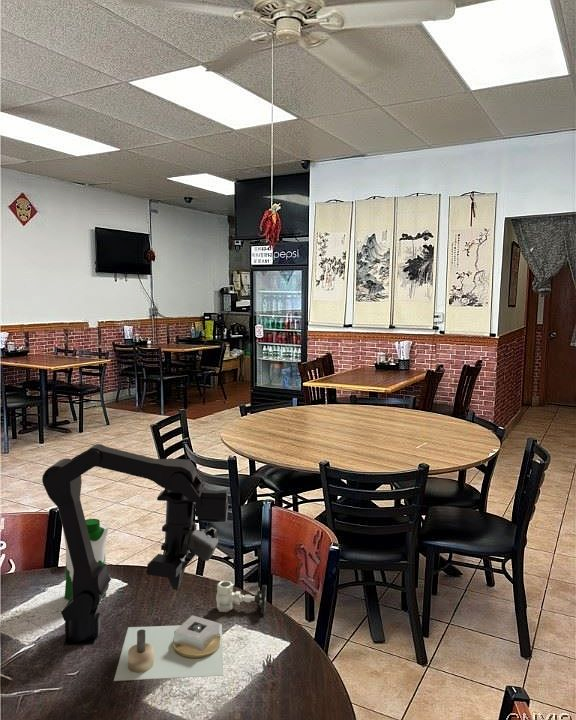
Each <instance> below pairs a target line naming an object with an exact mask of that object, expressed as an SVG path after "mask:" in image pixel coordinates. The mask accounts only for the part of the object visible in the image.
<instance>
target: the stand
mask: <svg viewBox="0 0 576 720" xmlns="http://www.w3.org/2000/svg"><path fill="white" fill-rule="evenodd" d="M153 663H154V648H153V646H152V645H150V644H147V643H145V630H138V631H137V644H136V645H134V646H132V647H131V648H130V649H129V651H128V669H129V670H130V671H132V672H135V673H141V672H145V671H148V670H149V669H151V668H152V666H153Z"/></svg>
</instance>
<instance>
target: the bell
mask: <svg viewBox="0 0 576 720" xmlns="http://www.w3.org/2000/svg"><path fill="white" fill-rule="evenodd" d="M193 631H194V632H198V633H200V632H201V626H200V625H195V626H193ZM219 647H220V634H218V635H217V636H216V637H215V639H214V640H213V641H212V642H211V643H210V644H209V645H208V646H207V647H206V648H205V649H204V650H203V651H200V650H197V649H194V648H190V647H187V646H184V645H181V644H178V643H174V638H173V649H174V651H175V652H176V653H177V654H178V655H179V656H181V657H184V658H188V659H201V658H205V657H208V656H210V655H212V654H214V653H215V652H216V651H217V650H218V649H219Z"/></svg>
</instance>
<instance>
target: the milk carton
mask: <svg viewBox="0 0 576 720" xmlns="http://www.w3.org/2000/svg"><path fill="white" fill-rule="evenodd" d="M85 521H86V525H87V529H88V533H89V537H90V541H91V545H92V549H93V553H94V557H95V560H96V561H97V562H98V563H99V565H100V566H101V565H104V564H106V558H107V557H106V553H107V552H106V548H107V547H106V544H107V543H106V542H107V537H108V532H109V527H108V526H106V525H104V524H102V523H101V521H100V519H97V518H87V519H85ZM62 530H63V529H62ZM62 532H63V536H64V544H65V586H64V587H65V589H64V590H65V591H64V599H65V600H67V601H69V600H70V598H71V597H72V580H73V566H72V562H71V558H70V554H69V550H68V546H67V542H66V538H65V534H64V530H63V531H62ZM106 597H107V592H106V593H105V595H104V596H103V598H102V599H104V598H106Z"/></svg>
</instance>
